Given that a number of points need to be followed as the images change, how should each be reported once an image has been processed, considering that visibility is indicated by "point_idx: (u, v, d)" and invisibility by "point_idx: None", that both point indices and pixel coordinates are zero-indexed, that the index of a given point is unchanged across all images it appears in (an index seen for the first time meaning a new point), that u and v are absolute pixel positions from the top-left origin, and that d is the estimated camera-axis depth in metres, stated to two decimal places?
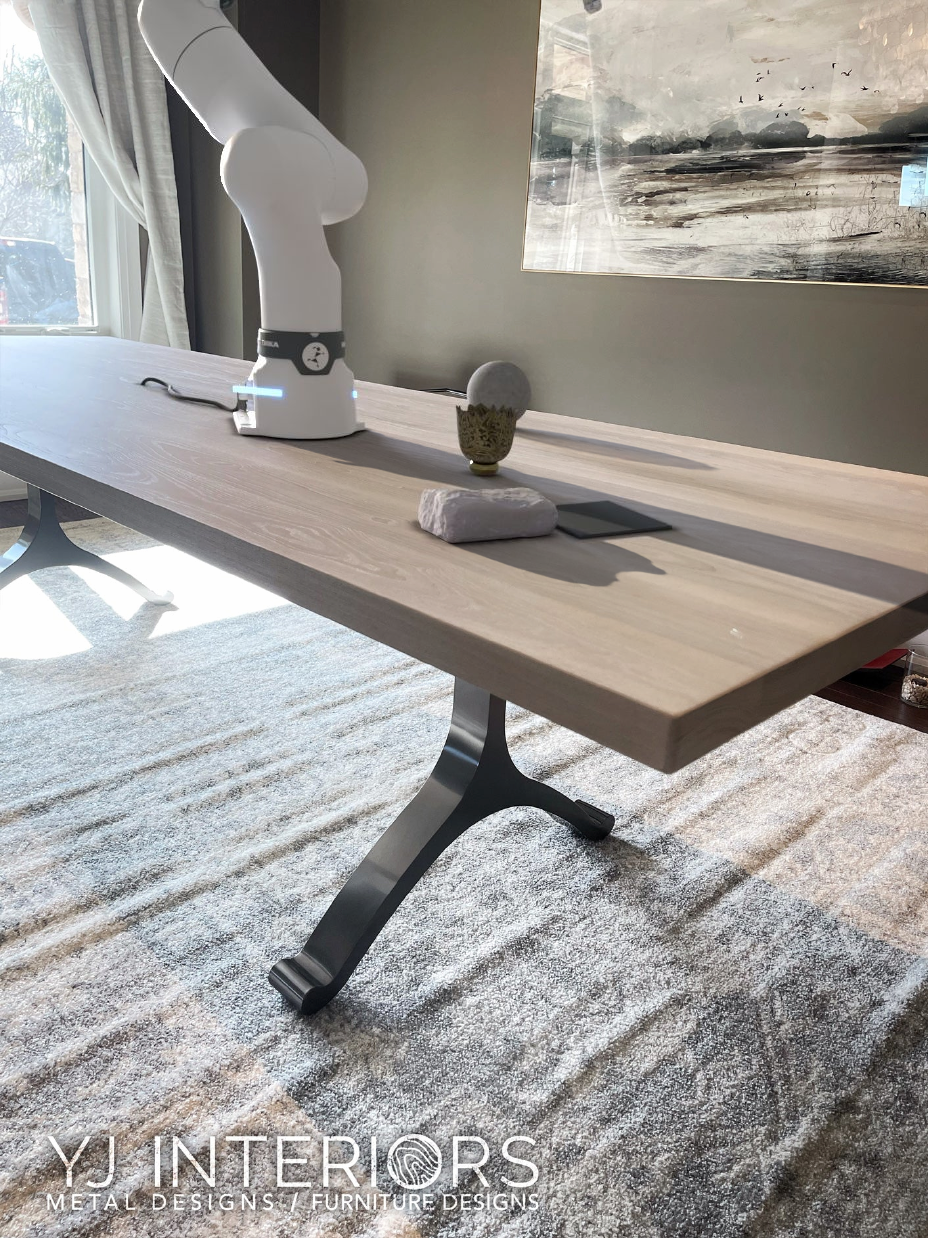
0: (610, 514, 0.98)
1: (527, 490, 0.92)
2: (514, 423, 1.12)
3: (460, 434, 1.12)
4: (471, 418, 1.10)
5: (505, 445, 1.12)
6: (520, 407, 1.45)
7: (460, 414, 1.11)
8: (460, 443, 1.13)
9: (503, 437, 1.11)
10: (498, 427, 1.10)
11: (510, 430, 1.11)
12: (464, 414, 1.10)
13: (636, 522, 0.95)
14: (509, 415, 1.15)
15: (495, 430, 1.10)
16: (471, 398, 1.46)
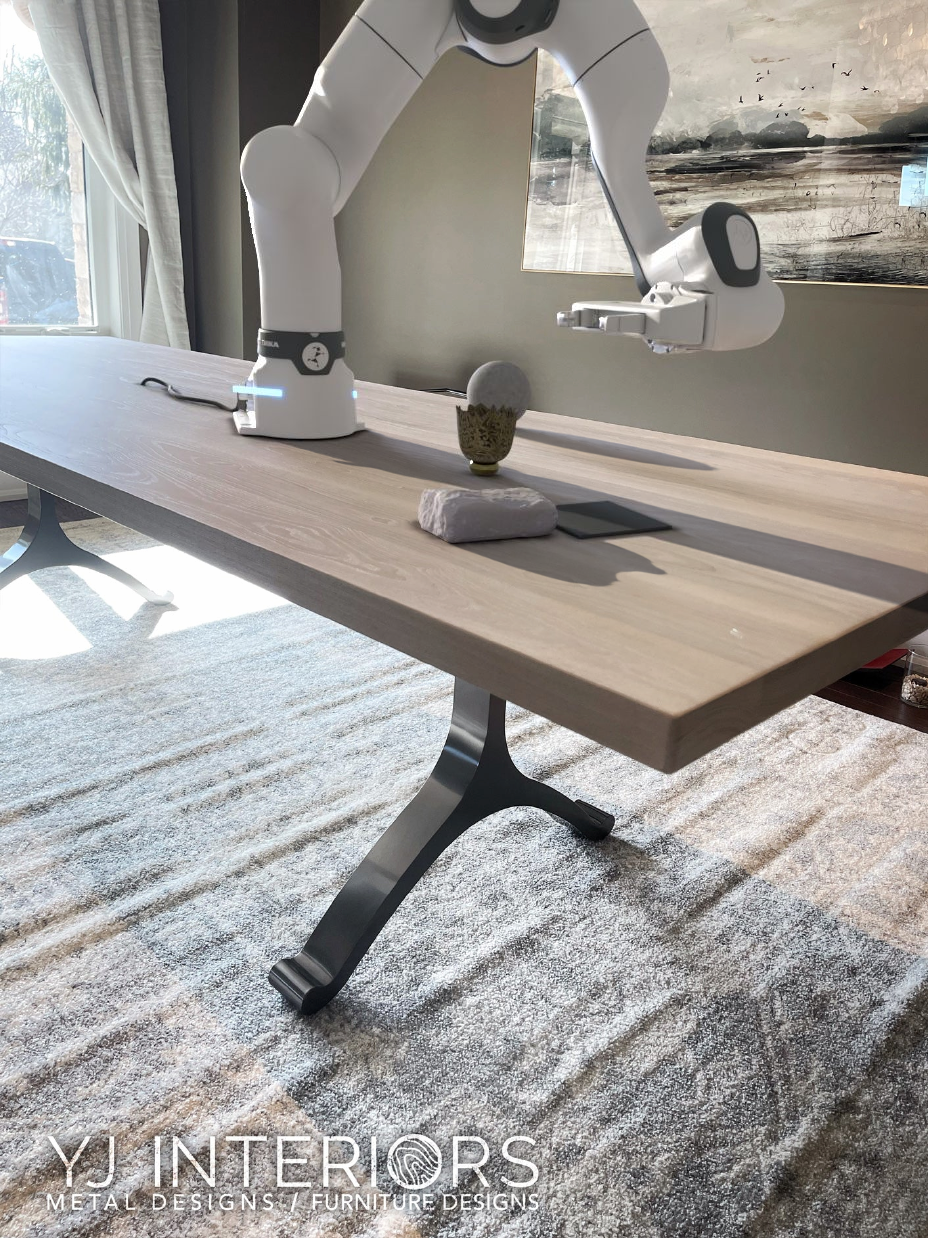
0: (610, 514, 0.98)
1: (527, 490, 0.92)
2: (514, 423, 1.12)
3: (460, 434, 1.12)
4: (471, 418, 1.10)
5: (505, 445, 1.12)
6: (520, 407, 1.45)
7: (460, 414, 1.11)
8: (460, 443, 1.13)
9: (503, 437, 1.11)
10: (498, 427, 1.10)
11: (510, 430, 1.11)
12: (464, 414, 1.10)
13: (636, 522, 0.95)
14: (509, 415, 1.15)
15: (495, 430, 1.10)
16: (471, 398, 1.46)
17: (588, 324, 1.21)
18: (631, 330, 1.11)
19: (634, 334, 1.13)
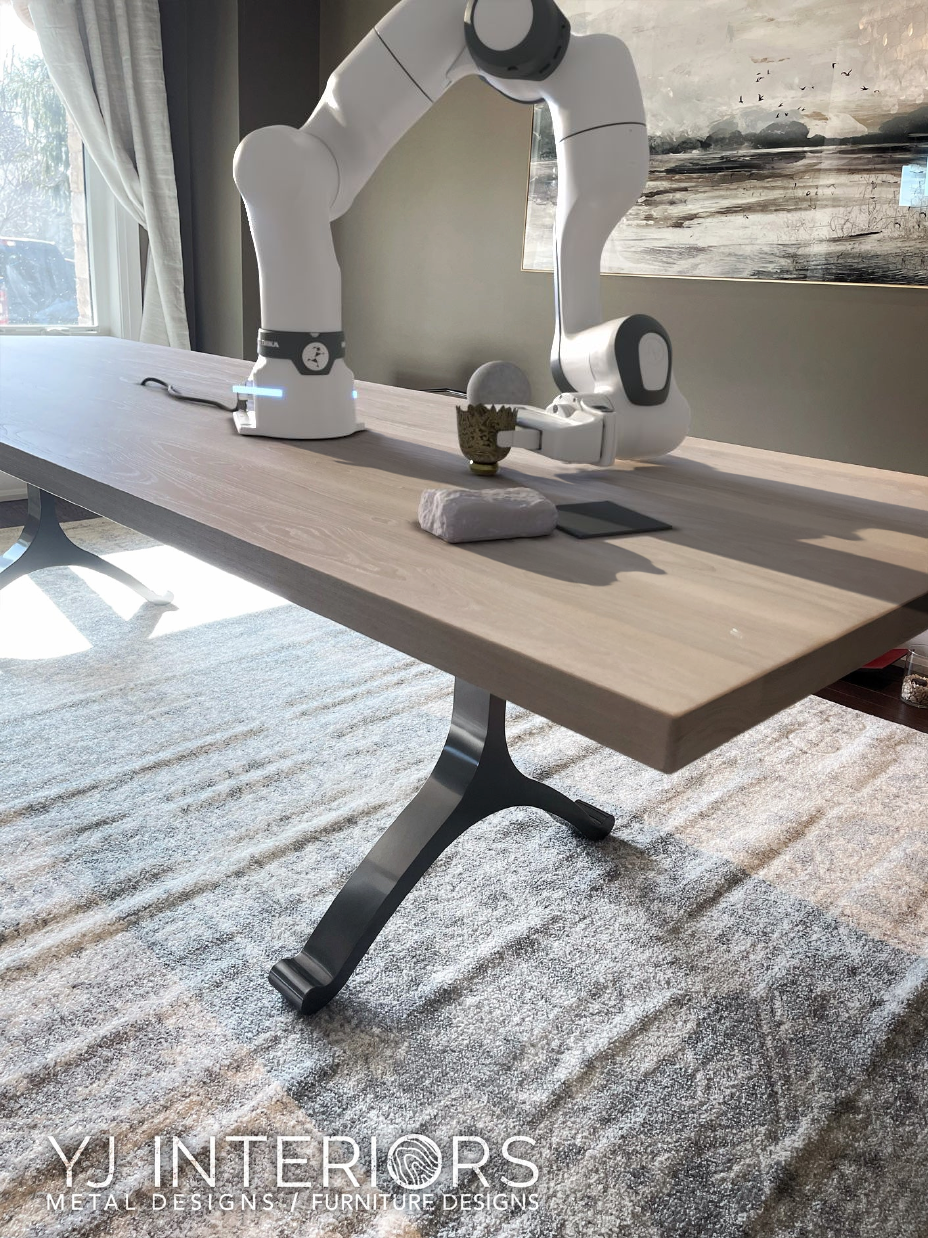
0: (610, 514, 0.98)
1: (527, 490, 0.92)
2: (514, 423, 1.12)
3: (460, 434, 1.12)
4: (471, 418, 1.10)
5: None
6: None
7: (460, 414, 1.11)
8: (460, 443, 1.13)
9: None
10: (498, 427, 1.10)
11: (510, 430, 1.12)
12: (464, 414, 1.10)
13: (636, 522, 0.95)
14: (509, 415, 1.15)
15: (495, 430, 1.10)
16: (471, 398, 1.46)
17: None
18: (524, 446, 1.10)
19: (532, 449, 1.12)
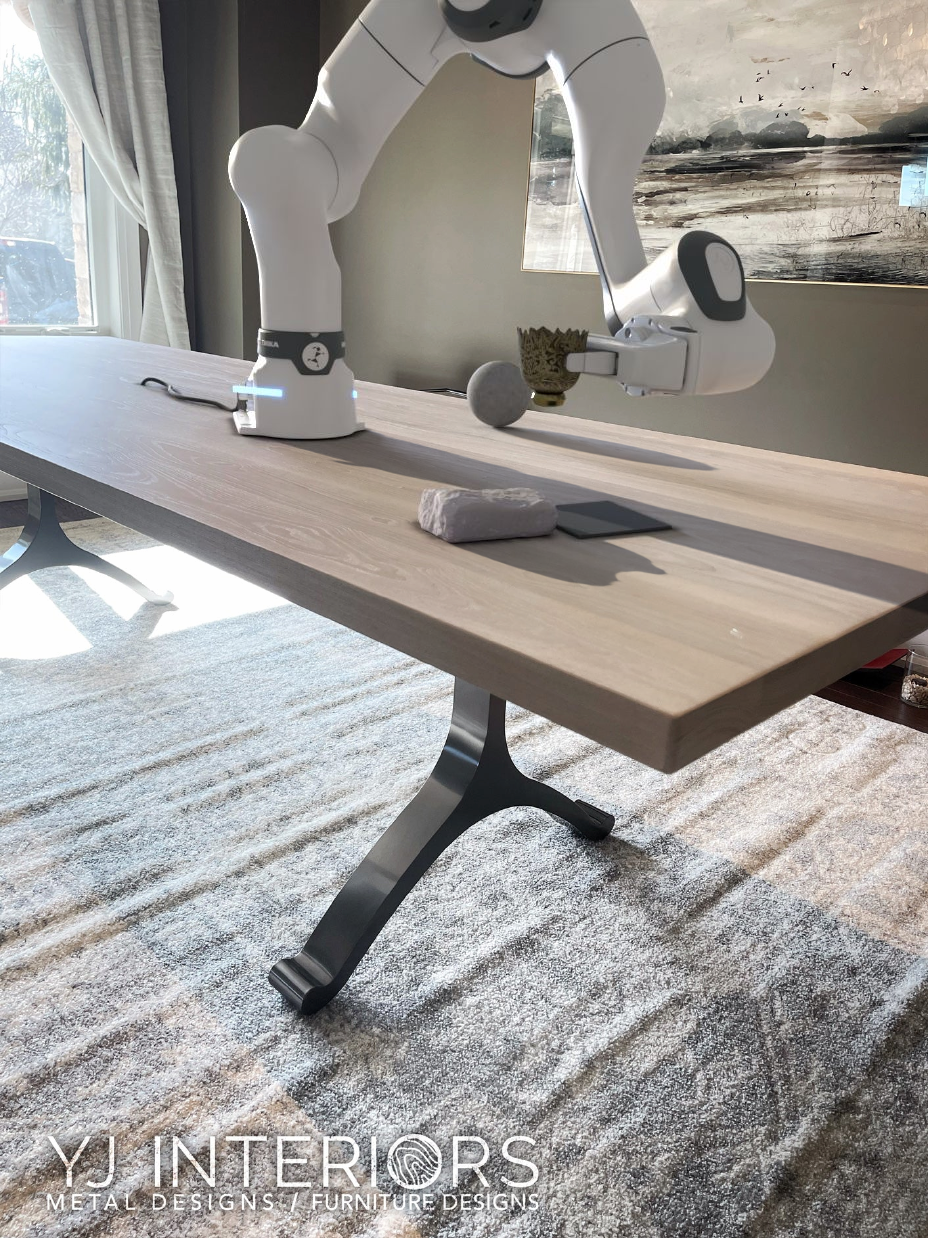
0: (610, 514, 0.98)
1: (527, 490, 0.92)
2: (584, 345, 0.98)
3: (523, 359, 0.99)
4: (536, 339, 0.96)
5: None
6: (520, 407, 1.45)
7: (523, 335, 0.97)
8: (522, 370, 0.99)
9: None
10: (567, 349, 0.96)
11: None
12: (528, 335, 0.97)
13: (636, 522, 0.95)
14: (576, 339, 1.01)
15: (564, 352, 0.96)
16: (471, 398, 1.46)
17: None
18: (598, 370, 0.96)
19: (605, 375, 0.98)
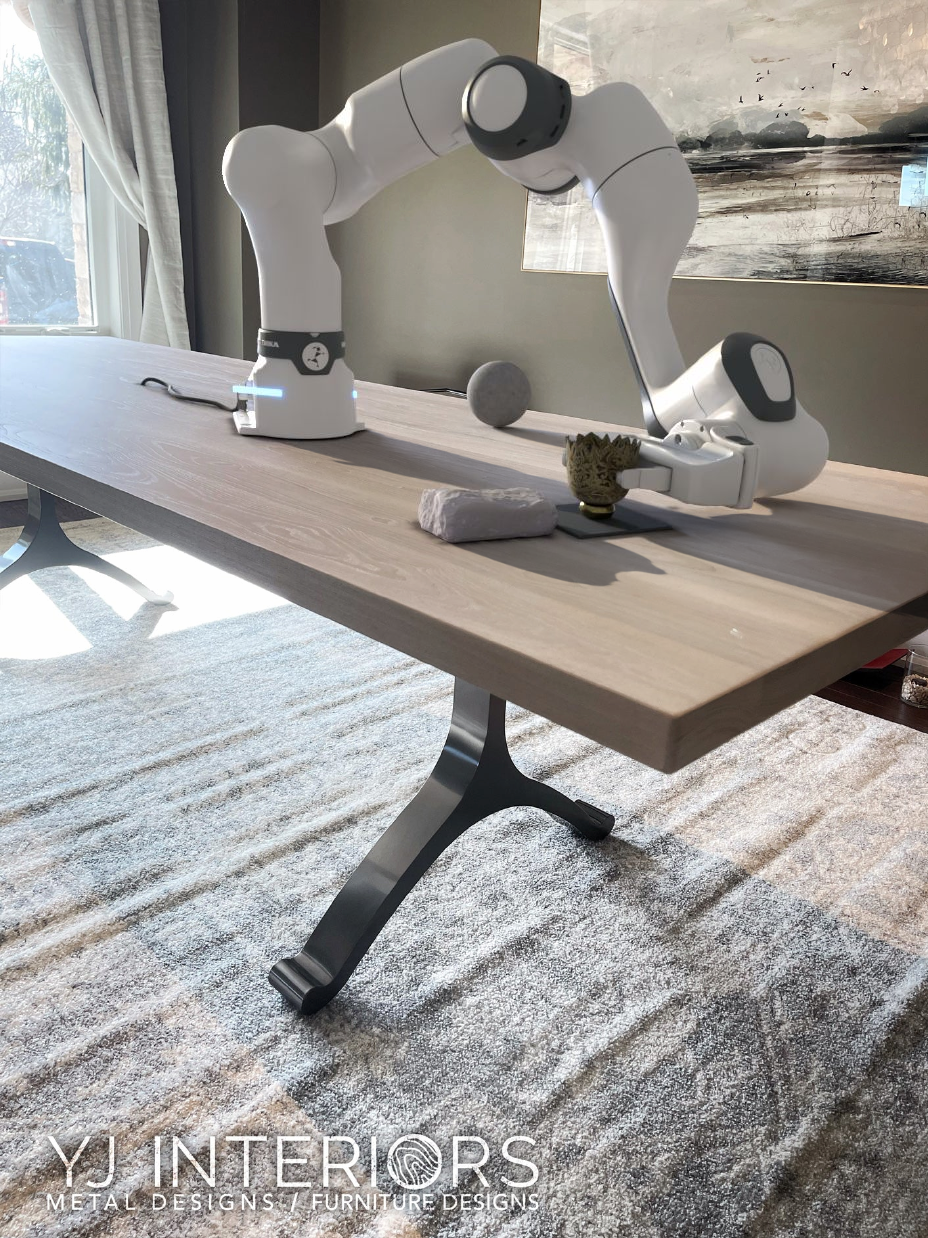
0: None
1: (527, 490, 0.92)
2: (637, 458, 0.93)
3: (571, 471, 0.93)
4: (587, 452, 0.91)
5: None
6: (520, 407, 1.45)
7: (573, 447, 0.92)
8: (570, 481, 0.94)
9: None
10: (620, 463, 0.91)
11: (632, 466, 0.93)
12: (578, 447, 0.92)
13: (636, 522, 0.95)
14: None
15: (616, 466, 0.91)
16: (471, 398, 1.46)
17: None
18: (653, 487, 0.91)
19: None
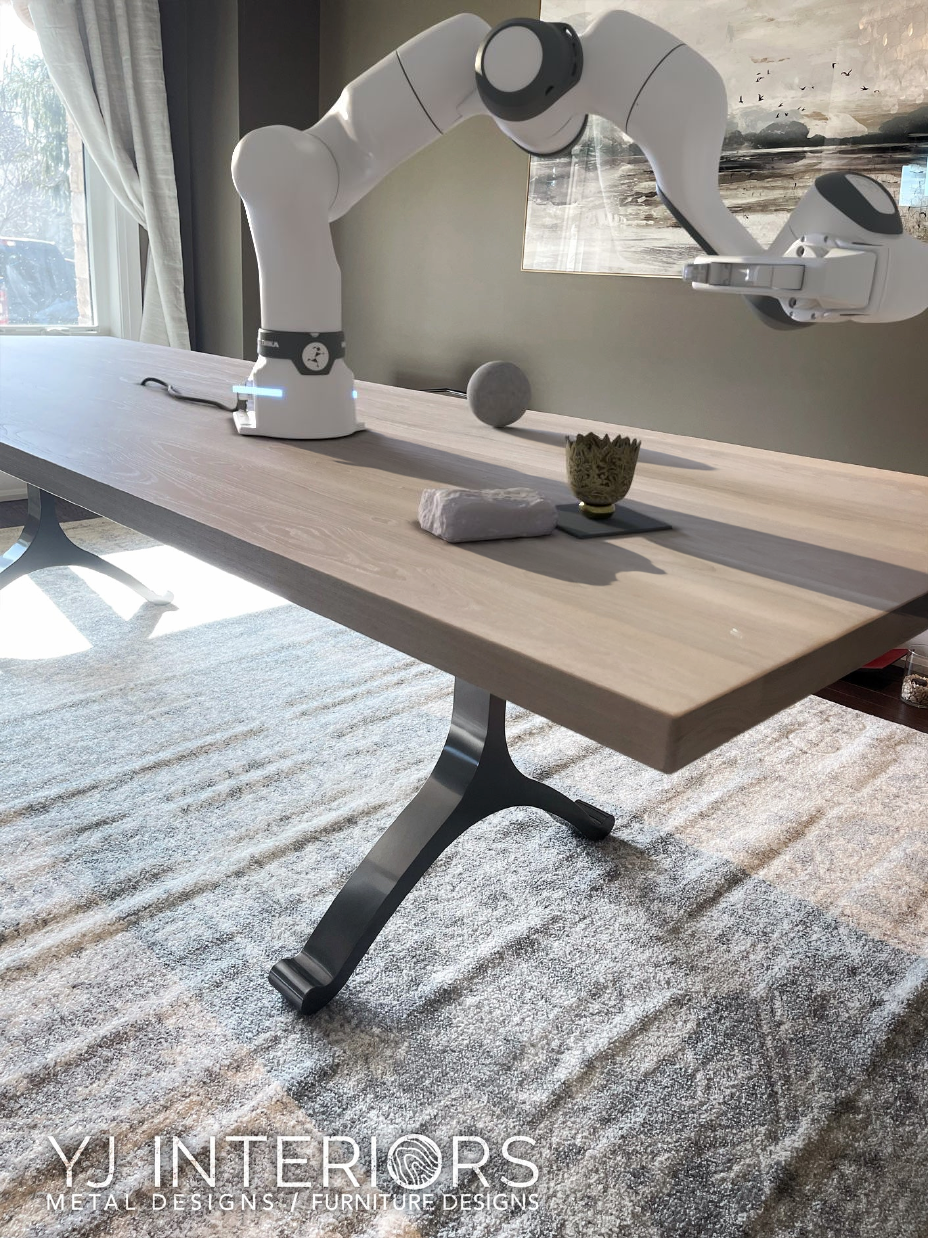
0: None
1: (527, 490, 0.92)
2: (636, 457, 0.93)
3: (571, 471, 0.93)
4: (587, 452, 0.91)
5: (626, 484, 0.93)
6: (520, 407, 1.45)
7: (573, 447, 0.92)
8: (570, 481, 0.94)
9: (624, 475, 0.92)
10: (619, 463, 0.91)
11: (632, 466, 0.93)
12: (578, 447, 0.92)
13: (636, 522, 0.95)
14: None
15: (616, 466, 0.91)
16: (471, 398, 1.46)
17: (717, 281, 1.00)
18: (786, 285, 0.90)
19: (785, 291, 0.92)
